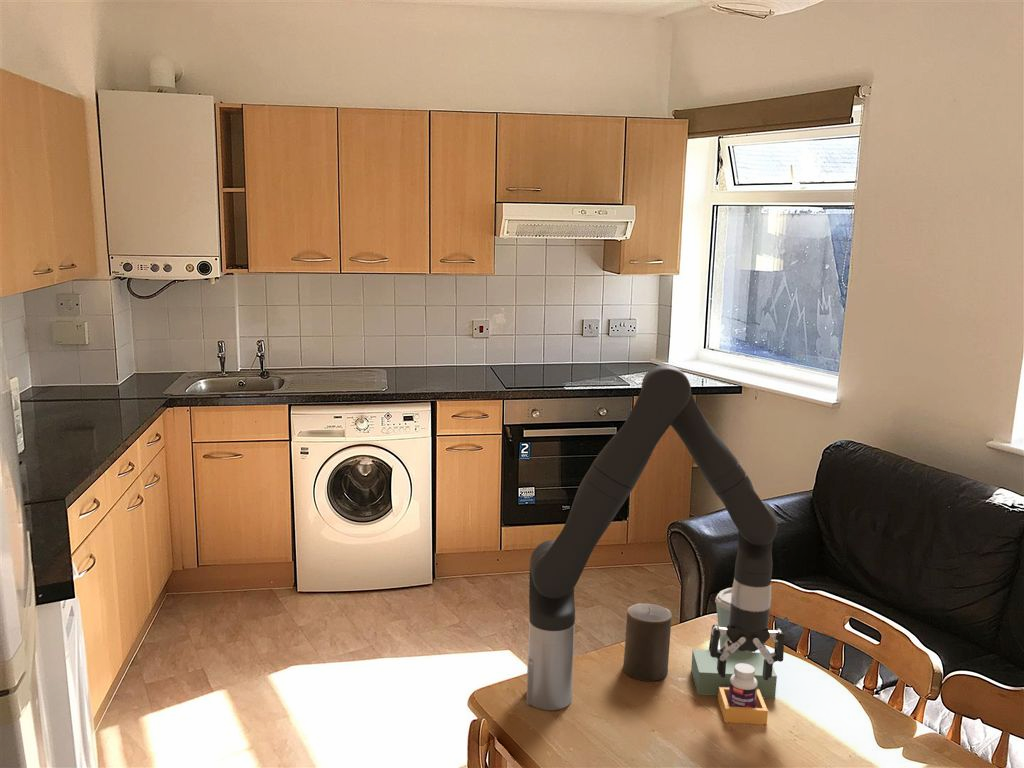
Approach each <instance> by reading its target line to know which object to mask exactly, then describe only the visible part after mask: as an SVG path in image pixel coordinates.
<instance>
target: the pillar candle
mask: <svg viewBox="0 0 1024 768" xmlns="http://www.w3.org/2000/svg"><path fill="white" fill-rule="evenodd" d="M672 617H673V616H672V612H671V610H670V609H668V608H666V607H663V606H661V605H658V604H652V603H636V604H633V605H631V606H629V607H628V608H627V612H626V623H625V624H626V625H625V640H624V641H625V642H624V654H623V664H622V665H623V666H622V667H623V671H624V672H625V674H626V675H628V676H629V677H631V678H633V679H635V680H639V681H643V682H656V681H660V680H663V679H665V678H666V677H667V676H668V672H669V657H670V643H671V629H672ZM666 675H667V676H666ZM664 677H665V678H664Z"/></svg>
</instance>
